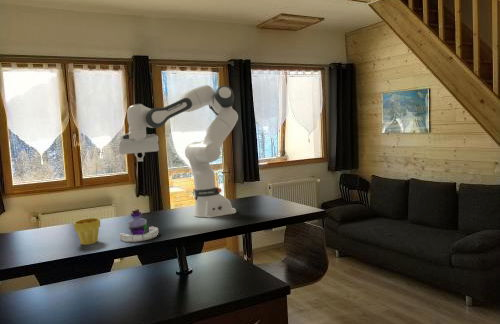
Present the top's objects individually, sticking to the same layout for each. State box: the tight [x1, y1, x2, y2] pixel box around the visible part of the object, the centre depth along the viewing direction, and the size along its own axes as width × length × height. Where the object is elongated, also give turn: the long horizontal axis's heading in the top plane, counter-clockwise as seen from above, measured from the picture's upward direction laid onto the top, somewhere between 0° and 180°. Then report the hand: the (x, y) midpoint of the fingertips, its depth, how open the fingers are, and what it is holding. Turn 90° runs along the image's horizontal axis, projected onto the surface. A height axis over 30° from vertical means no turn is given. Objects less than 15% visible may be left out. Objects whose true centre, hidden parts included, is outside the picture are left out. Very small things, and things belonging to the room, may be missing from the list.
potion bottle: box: [126, 208, 147, 235], centre depth 180 cm, size 9×9×12 cm
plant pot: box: [73, 217, 101, 246], centre depth 174 cm, size 10×10×10 cm
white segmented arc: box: [118, 226, 159, 243], centre depth 177 cm, size 11×16×2 cm
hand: (140, 161), depth 213 cm, fingers closed
